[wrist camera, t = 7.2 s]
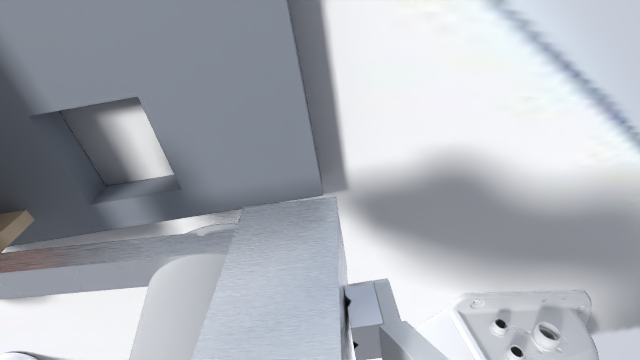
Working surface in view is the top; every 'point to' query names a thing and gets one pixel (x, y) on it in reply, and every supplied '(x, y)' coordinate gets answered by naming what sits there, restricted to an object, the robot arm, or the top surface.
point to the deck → (152, 109)
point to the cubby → (13, 226)
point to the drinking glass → (16, 356)
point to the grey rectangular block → (225, 280)
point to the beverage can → (178, 305)
